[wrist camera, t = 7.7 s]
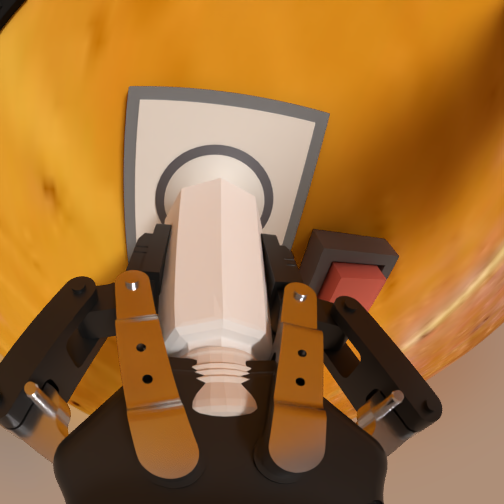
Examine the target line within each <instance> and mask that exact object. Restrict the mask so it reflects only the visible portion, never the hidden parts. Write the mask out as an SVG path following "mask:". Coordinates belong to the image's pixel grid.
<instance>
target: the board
mask: <svg viewBox="0 0 504 504" xmlns="http://www.w3.org/2000/svg"><path fill="white" fill-rule="evenodd" d="M329 115H330V114H329V113H326V112H322V111H319V110H315V109H311V108H307V107H303V106H299V105H295V104H291V103H286V102H282V101H277V100H272V99H267V98H262V97H256V96H250V95H244V94H238V93H230V92H223V91H215V90H205V89H194V88H180V87H157V86H130V87H129V91H128V101H127V112H126V125H125V143H124V210H125V229H126V243H127V254H128V264H129V261H130V258H131V256H132V253H133V251H134V248H135V245H136V243H137V240H138V238H139V237H141V236H142V235H143V234H144V233H152V234H153V232H154V229H155V226H156V224H164V223H165V219H166V217H167V215H168V213H169V211H170V209H171V207H172V205H173V203H174V201H175V200H176V198H177V196H178V194H179V192H180V190H181V189H182V188H185V187H188V186H192V185H196V184H199V183H203V182H207V181H211V180H214V179H218V178H222V179H224V180H226V181H228V182H230V183H231V184H233V185H235V186H237V187H239V188H241V189H242V190H244V191H246V192H248V193H250V194H251V195H253V196H255V198H256V202H257V207H258V211H259V216H260V221H261V225H262V231H263V234H272V235H276V236H277V239H278V241H279V244H280V245H282V246H286V247H287V248H288V249H289V250H290V251H291V248H292V244H293V241H294V238H295V235H296V232H297V228H298V225H299V222H300V218H301V215H302V212H303V208H304V205H305V202H306V198H307V195H308V192H309V188H310V185H311V181H312V178H313V174H314V171H315V167H316V164H317V160H318V156H319V153H320V149H321V145H322V142H323V138H324V134H325V130H326V127H327V123H328V119H329Z"/></svg>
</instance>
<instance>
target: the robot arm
mask: <svg viewBox="0 0 504 504" xmlns="http://www.w3.org/2000/svg"><path fill="white" fill-rule="evenodd" d="M171 226H172V225H169V224H156V226H155V229H154V232H153V234H152V233H144V234H143V235H142V236H141V237H139V238H138V240H137V243H136V245H135V248H134V251H133V253H132V256H131V258H130V261H129V264H128V266H127V269H126V271H125V272H123V273H121V274H120V275H118V277H117V278H116V280H115V283H112V284H108V285H101V286H96V285H95V282H94V281H93V280H92V279H91V278H89V277H84V276H81V277H76V278H73V279H71V280H70V281H68V282H67V283H66V284H65V285H64V286H63V287H62V289H61V290H60V291H59V292H58V293H57V294H56V295H55V296H54V297H53V298H52V299H51V301H50V302H49V303H48V304H47V305H46V306H45V307H44V308H43V310H42V311H41V312H40V313H39V314H38V315H37V317H36V318H35V319H34V320H33V321H32V323H31V324H30V325H29V326H28V327H27V329H26V330H25V331H24V332H23V334H22V335H21V336H20V337H19V339H18V340H17V341H16V343H15V344H14V345H13V346H12V348H11V349H10V350H9V352H8V353H7V355H6V356H5V357H4V359H3V360H2V362H1V363H0V425H1V426H2V427H3V428H5V429H6V430H7V431H9V432H10V433H11V434H13V435H14V436H16V437H17V438H19V439H21V440H23V441H24V442H26V443H27V444H28V445H29V446H30V447H32V448H33V449H34V450H35V451H37V452H38V453H39V454H41V455H42V456H43V457H45V458H46V459H47V460H49V461H50V462H52V463H53V466H54V473H55V477H56V480H57V482H58V484H59V487H60V489H61V491H62V493H63V496H64V498H65V502H66V504H384V502H383V489H384V481H385V477H386V472H387V456H389V455H390V454H391V453H392V452H394V451H395V450H396V449H397V448H398V447H400V446H401V445H402V444H403V443H404V442H405V441H406V440H408V439H409V438H411V437H412V436H414V435H416V434H417V433H419V432H420V431H422V430H424V429H425V428H427V427H428V426H430V425H431V424H432V423H434V422H435V421H437V420H438V419H439V418H440V416H441V414H442V405H441V402H440V400H439V398H438V397H437V395H436V394H435V393H434V392H433V390H432V389H431V388H430V386H429V385H428V384H427V383H426V381H425V380H424V379H423V377H422V376H421V375H420V374H419V372H418V371H417V370H416V369H415V367H414V366H413V365H412V364H411V363H410V361H409V360H408V359H407V358H406V356H405V355H404V354H403V353H402V352H401V350H400V349H399V348H398V347H397V346H396V344H395V343H394V342H393V341H392V340H391V338H390V337H389V336H388V335H387V334H386V332H385V331H384V330H383V329H382V328H381V327H380V325H379V324H378V323H377V322H376V321H375V320H374V318H373V317H372V316H371V315H370V314H369V313H368V312H367V310H366V309H365V308H364V307H363V306H362V305H361V304H360V303H359V302H358V301H357V300H356V299H354V298H352V297H349V296H339V297H338V298H336V300H335V302H334V303H332V302H328V301H325V300H321V299H319V298H317V297H316V293H315V292H314V290H313V289H312V288H310V287H309V286H307V285H305V284H304V283H303V280H302V277H301V275H300V272H299V270H298V267H297V266H296V262H295V261H294V257H293V254H292V252H291V251H290V250H289V249H288V248H287V247H286V246H282V245H280V244H279V241H278V239H277V236H276V235H272V234H262V233H261V242H262V250H263V258H264V266H265V275H266V283H267V292H268V300H269V307H270V319H271V331H272V350H271V354H270V357H269V359H268V360H265V361H245V362H246V366H247V367H249V368H251V369H250V370H249V371H247V372H248V373H249V374H246V375H243V376H241V377H244V378H247V379H249V380H247V381H245V382H243V383H241V384H242V386H243V387H244V388H245V389H246V390H247V391H248V392H249V393H250V394H251V395H252V397H253V398H254V400H255V401H256V404H257V409H256V410H255V411H254V412H252V413H250V414H245V415H240V416H212V415H206V414H201V413H199V412H197V411H195V410H194V409H193V408H192V405H193V400H194V398H195V396H196V394H197V393H198V391H199V390H200V389H201V388H202V387H203V386H204V384H205V382H203V381H201V380H199V379H197V378H198V377H201V376H204V375H202V374H199V373H196V371H197V370H196V369H194V368H192V366H194V365H197V360H194V359H189V358H176V357H168V355H167V351H166V348H165V344H164V339H163V335H162V331H161V327H160V322H159V318H158V315H156V314H158V307H159V295H160V292H161V285H162V278H163V271H164V265H165V259H166V253H167V247H168V242H169V236H170V231H171ZM110 336H116V338H117V347H118V356H119V364H120V371H121V377H122V384H123V386H122V387H121V388H120V389H119V390H118V391H116V392H115V393H114V394H113V395H112V396H111V397H110V398H109V399H108V400H107V401H105V402H104V403H103V404H102V405H101V406H100V407H99V408H98V409H97V410H96V411H94V412H93V413H92V414H91V415H90V416H89V417H88V418H87V419H86V420H85V421H84V422H82V423H81V424H80V425H79V426H78V427H77V428H76V429H75V430H73V431H72V432H71V433H70V434H68V424H69V421H70V417H71V412H70V408H69V406H68V404H67V402H68V400H69V399H70V397H71V395H72V394H73V392H74V390H75V389H76V387H77V385H78V384H79V382H80V380H81V379H82V377H83V375H84V374H85V372H86V370H87V369H88V367H89V366H90V364H91V362H92V361H93V359H94V358H95V356H96V355H97V353H98V351H99V350H100V348H101V347H102V345H103V344H104V342H105V341H106V339H107V337H110ZM348 339H349V340H350V341H351V343H352V344H353V345H354V347H355V348H356V349H357V350H358V352H359V353H360V356H361V361H359V360H358V358H357V357H356V356H355V354H354V353H353V352H352V350H351V349H350V348H349V346H348V345H347V344H346V341H347V340H348ZM323 363H324V365H325V366H326V367H327V369H328V370H329V372H330V373H331V375H332V376H333V378H334V379H335V381H336V382H337V383H338V385H339V386H340V388H341V389H342V391H343V392H344V394H345V395H346V397H347V398H348V399H349V401H350V402H351V404H352V405H353V407H354V408H355V410H356V411H357V422H356V423H355V422H353V421H352V420H351V419H350V418H348V417H347V416H346V415H345V414H343V413H342V412H341V411H340V410H339V409H337V408H336V407H335V406H334V405H333V404H331V403H330V402H329V401H328V400H327V399H325V398H324V397H323Z"/></svg>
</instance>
